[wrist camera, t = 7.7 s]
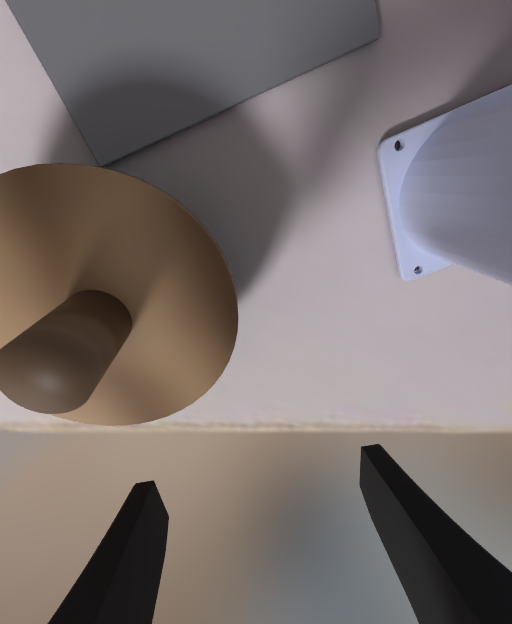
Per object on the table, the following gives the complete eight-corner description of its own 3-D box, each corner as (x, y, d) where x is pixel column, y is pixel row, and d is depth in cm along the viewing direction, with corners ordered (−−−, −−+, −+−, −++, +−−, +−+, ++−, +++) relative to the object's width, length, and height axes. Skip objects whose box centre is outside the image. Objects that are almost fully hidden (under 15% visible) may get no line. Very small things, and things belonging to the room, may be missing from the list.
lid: (157, 108, 10) (102, 53, 6) (273, 363, 15) (292, 440, 11) (-119, 239, 11) (-352, 279, 7) (74, 439, 16) (15, 539, 12)
